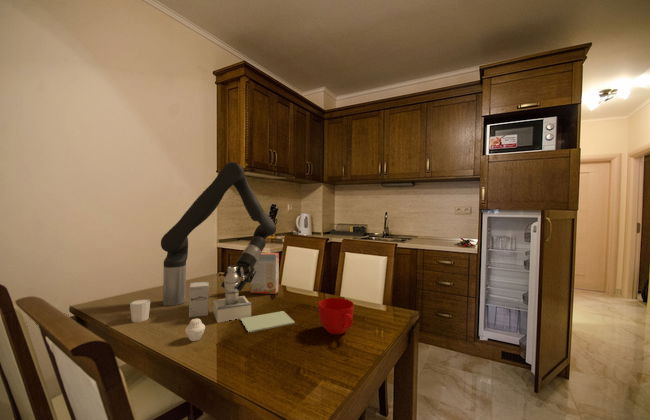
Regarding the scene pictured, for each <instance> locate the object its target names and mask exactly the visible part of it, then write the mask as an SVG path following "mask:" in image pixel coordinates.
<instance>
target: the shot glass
mask: <svg viewBox="0 0 650 420" xmlns="http://www.w3.org/2000/svg"><path fill="white" fill-rule="evenodd" d="M129 306H130V307H129V309H130V318H131V319H130V320H131V322H132V323H141V322H145V321H147V320H148V319H149V318H150V317H149V316H150V308H151V299H147V298H146V299H145V298H143V299H136V300H133V301H131V302H130V303H129Z"/></svg>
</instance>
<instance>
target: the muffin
mask: <svg viewBox="0 0 650 420" xmlns="http://www.w3.org/2000/svg"><path fill="white" fill-rule="evenodd" d="M205 329H206V325H205V324H204V323H203V322H202V320H201V319H200V318H196V317H195V318H193V319H191V320H190V321H189V324H188V325H187V326H186V328H185V329H184V330H185V333H186V336H187V338H188V340H189V341H191V342H197V341H200V340H201V338H202V336H203V334H204V333H205Z"/></svg>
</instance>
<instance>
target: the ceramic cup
mask: <svg viewBox="0 0 650 420" xmlns="http://www.w3.org/2000/svg"><path fill="white" fill-rule="evenodd" d="M354 310H355V305H354V302H353V301H352V300H350V299H346V298H339V297H329V298H324V299H322V300H320V301H319V302H318V315H319V320H320V323H321V325H322V326H323V327H324V329H325V330H326V332H327V333H329V334H331V335H342V334H344V333H345V331H347V329H349V328H352V326H353V323H354V320H353V319H354V318H353V317H354Z"/></svg>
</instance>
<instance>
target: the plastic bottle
mask: <svg viewBox="0 0 650 420" xmlns="http://www.w3.org/2000/svg"><path fill="white" fill-rule="evenodd" d="M227 269H228V270H227ZM227 269H226V270H227V272H228V273H227V275H226V276H225V277H223V281H224V285H225V288H224V296H225V297H224V299H225V304H224V306H228V305H235V304H239V297H240V296H239V295H240V294H239V292H240V291H238V290H237V287H238V285H239V283H240V281H241V277H239V275H238V274H237V272H236V271H237V266H236V265H232V266H230V265H229V266H227Z"/></svg>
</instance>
